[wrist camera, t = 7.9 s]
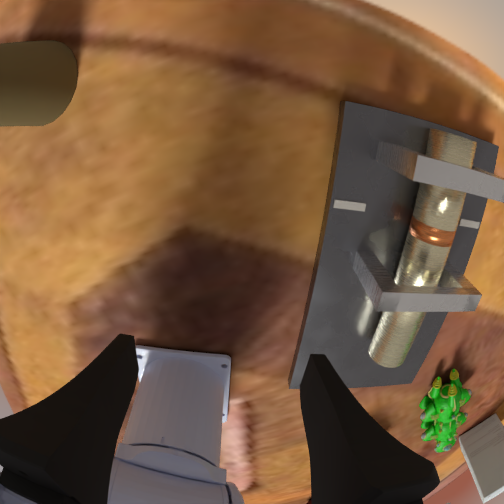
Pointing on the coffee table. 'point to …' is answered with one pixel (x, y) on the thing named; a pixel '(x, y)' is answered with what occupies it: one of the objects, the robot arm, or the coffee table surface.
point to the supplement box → (485, 456)
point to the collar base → (385, 243)
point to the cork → (35, 82)
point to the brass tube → (424, 248)
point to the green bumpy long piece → (444, 411)
